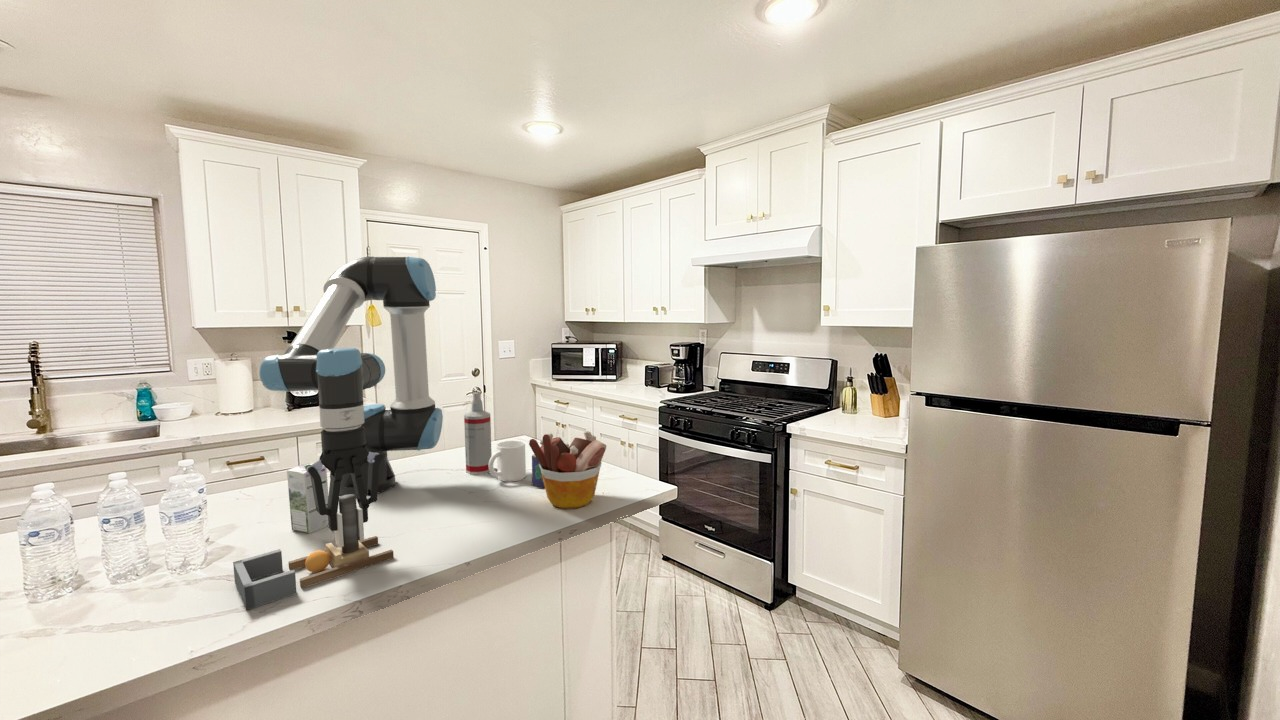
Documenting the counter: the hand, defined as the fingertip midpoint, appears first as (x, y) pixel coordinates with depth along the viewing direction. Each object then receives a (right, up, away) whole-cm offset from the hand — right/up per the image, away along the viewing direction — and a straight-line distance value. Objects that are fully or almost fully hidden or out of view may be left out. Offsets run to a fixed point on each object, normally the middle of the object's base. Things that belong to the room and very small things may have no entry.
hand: (349, 541), depth 102 cm
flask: (+31, 0, +43) cm, 53 cm away
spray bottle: (+8, +1, +58) cm, 58 cm away
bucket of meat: (+40, -1, +32) cm, 51 cm away
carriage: (0, -4, 0) cm, 4 cm away
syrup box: (-18, -3, +16) cm, 24 cm away
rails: (-1, -4, -1) cm, 4 cm away
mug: (+18, +1, +50) cm, 53 cm away
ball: (-4, -2, -4) cm, 6 cm away
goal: (-10, -5, -9) cm, 14 cm away
